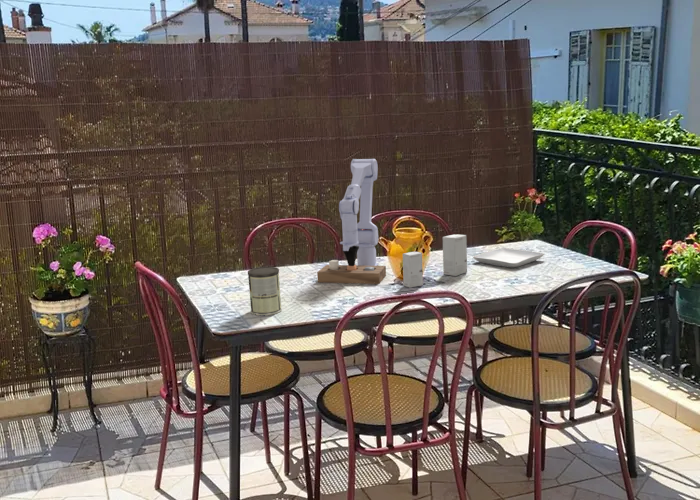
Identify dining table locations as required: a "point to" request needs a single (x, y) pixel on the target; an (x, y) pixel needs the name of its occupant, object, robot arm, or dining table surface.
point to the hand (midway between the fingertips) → (351, 265)
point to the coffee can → (264, 290)
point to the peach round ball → (351, 267)
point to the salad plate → (508, 257)
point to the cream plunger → (334, 265)
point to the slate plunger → (369, 268)
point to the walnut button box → (352, 275)
